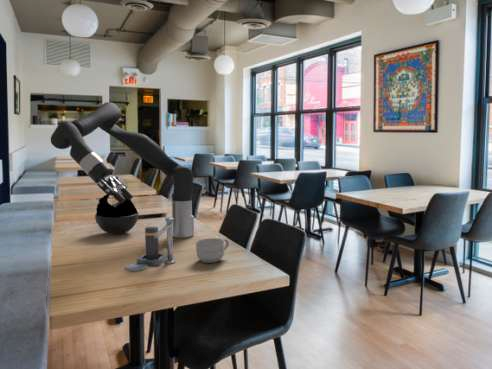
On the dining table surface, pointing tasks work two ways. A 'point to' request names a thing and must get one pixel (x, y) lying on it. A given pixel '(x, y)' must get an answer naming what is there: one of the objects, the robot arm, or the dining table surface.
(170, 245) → the post
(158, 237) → the gray square bar
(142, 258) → the socket
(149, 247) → the plug
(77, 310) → the dining table surface
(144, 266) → the mat
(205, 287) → the dining table surface
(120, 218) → the bowl of black rocks
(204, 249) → the teacup
